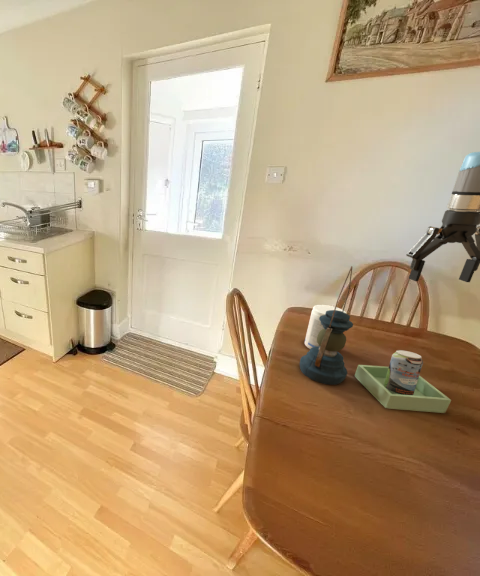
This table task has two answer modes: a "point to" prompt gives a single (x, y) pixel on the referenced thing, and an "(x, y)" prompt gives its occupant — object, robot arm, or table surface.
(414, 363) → the beverage can
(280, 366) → the table surface
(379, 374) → the green square tray
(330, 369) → the lantern
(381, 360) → the table surface
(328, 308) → the supplement tub
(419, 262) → the robot arm
